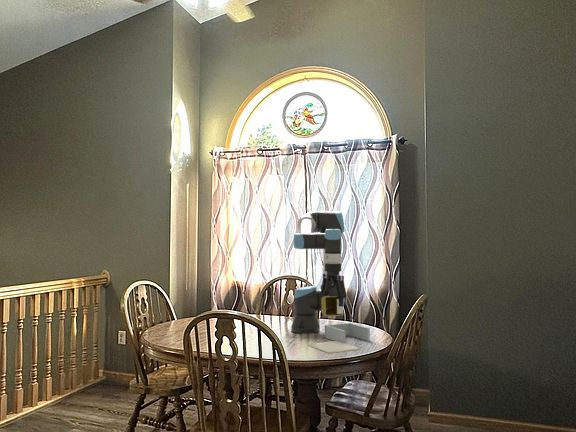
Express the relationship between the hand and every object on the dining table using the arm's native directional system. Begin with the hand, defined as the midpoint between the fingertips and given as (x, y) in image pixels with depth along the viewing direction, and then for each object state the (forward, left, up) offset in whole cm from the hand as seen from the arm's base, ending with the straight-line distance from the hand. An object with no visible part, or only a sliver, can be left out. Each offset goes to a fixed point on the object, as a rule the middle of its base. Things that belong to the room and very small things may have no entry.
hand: (333, 311), depth 239 cm
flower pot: (-5, -1, +3) cm, 6 cm away
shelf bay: (-12, +16, -16) cm, 26 cm away
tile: (0, 0, -16) cm, 16 cm away
